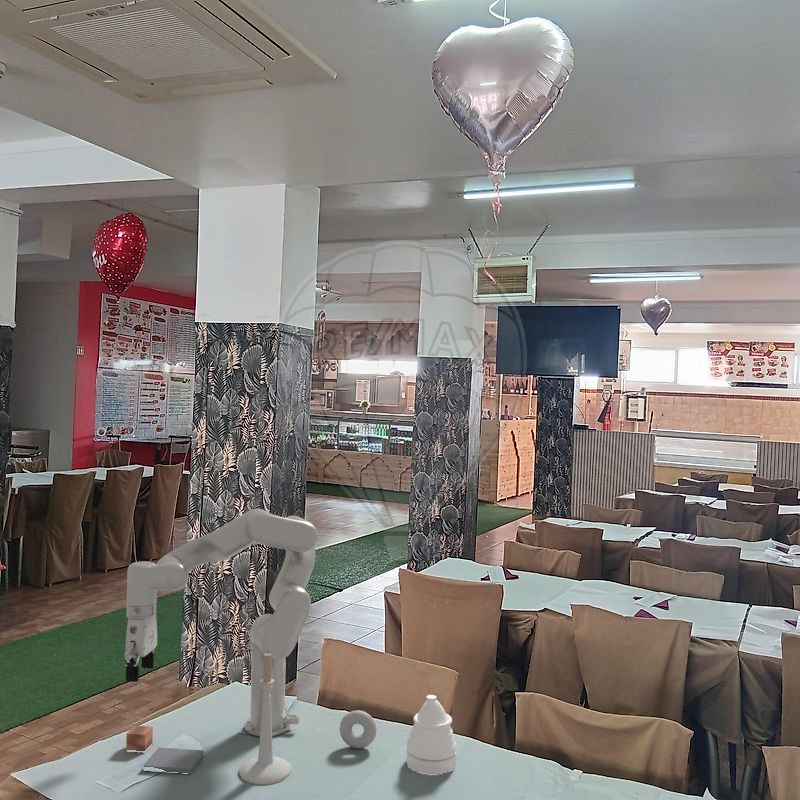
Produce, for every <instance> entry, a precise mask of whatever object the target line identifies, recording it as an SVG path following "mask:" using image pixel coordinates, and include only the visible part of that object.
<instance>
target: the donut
mask: <svg viewBox="0 0 800 800" xmlns="http://www.w3.org/2000/svg"><path fill="white" fill-rule="evenodd" d="M357 724H358V725H360V726H362V728H363V733H361V734H357V733H355V732H354V731H353V726H355V725H357ZM339 725H340V726H339V733H340V737H341V739H342V742H344V743H345V744H346V745H347V746H349V747H351V748H353V749H364V748H366V747H369V746H370V745H371V744H372V743H373V742H374V740H375V738H376V735H377V725H376V723H375V720H374V718H373V717H372V716H371V715H370V714H369V713H367V712H366V711H364V710H359V709H357V710H356V709H355V710H352V711H349V712H348V713H346V714H345V715H344V716H343V717H342V719H341V722H340V724H339Z"/></svg>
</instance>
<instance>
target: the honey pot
mask: <svg viewBox="0 0 800 800" xmlns="http://www.w3.org/2000/svg"><path fill="white" fill-rule="evenodd" d="M425 698H426V701H425V702H424V704H423V705H422V706H421V708H420V710H419V711H418V712H417V713H416V714H415V715H414V716H413V722H414V723H413V725H412V727H411V729H410V733H409V737H408V738H407V740H406V758H405V759H406V761H405V762H407V764H406V766H407V765H408V766H409V767H410V768H411V769H413V770H415V771H418V772H422V773H426V774H440V773H445V772H448V771H451V770H452V769H454V768H456V767H457V742H456V740H455V735H454V733H453V732H454V730H453V729H452V726H451V725H452V723H453V717H452V716H451V715H450V714H448V713H446V710H445V709H444V707H443V706H442V704H441V702H440V701H439V700H438V699H437V695H435V694H428V695H426V697H425ZM408 766H407V767H408ZM455 766H456V767H455ZM409 767H408V768H409ZM410 768H409V769H410ZM411 769H410V770H411ZM413 770H412V771H413ZM454 770H455V769H454ZM452 771H453V770H452ZM452 771H451V772H452Z"/></svg>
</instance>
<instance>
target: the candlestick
mask: <svg viewBox="0 0 800 800" xmlns="http://www.w3.org/2000/svg"><path fill="white" fill-rule="evenodd" d="M271 663H272V654H271V653H265V654H264V663H263V679H262V680H260V682H261V683H262V689H263V691H264V694H263V702H262V716H261V731H260V736H259V746H258V747H259V748H258V756H257V757H254V758H251V759H249V760H247V761H246V762H244V763H243V764H242V765H241V766H240V768H239V774H240V775H239V774H238V775H239V777H240V776H241V777H240V779H242V780H243V779H244V780H245V781H244V780H243V781H244V782H246V781H248V782H247V783H249V782H250V783H249V784H252V783H254V784H253V785H262V784H263V785H273V784H276V783H279V782H281V781H284V780H286V779H287V778H288V777H289V776H290V775H291V773H292V765H291V764H290V762H289V761H287V760H285V759H284V758H281V757H279V756H275V755H274V751H273V750H274V747H273V736H272V716H271V694H270V691H271V688H272V683H273V682H274V679H271ZM263 785H262V786H263Z"/></svg>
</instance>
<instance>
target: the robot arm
mask: <svg viewBox="0 0 800 800" xmlns="http://www.w3.org/2000/svg"><path fill="white" fill-rule="evenodd" d="M318 540H319V533H318V530H317V528H316V527H315V525H314V524H312V523H311V522H310V521H307V520H306V519H304V518H302V517H300V516H297V515H288V516H286V517H282V516H279V515H276V514H272V513H270V512H268V511H266V510H265V509H261V508H254V509H250V510H248V511H246V512H244V513H243V514H241V515H239V516H238V517H236V518H235V519H233V520H231V521H230V522H228V523H226V524H224V525H222V526H220V527H219V528H218V529H215V530H214V531H212V532H210V533H207V534H205V535H202V536H200V537H197V538H195V539H193V540H191V541H188V542H186V543H184V544H182V545H180V546H178V547H177V548H175V549H173V550H172V551H169V552H168V553H166V554H165V555H163V556H162V557H161V558H160V559H159V560H158V561H157V562H156V563H155V562H152V561H136V562H133V563H131V564H129V566H128V567H127V575H126V576H127V579H126V611H125V612H126V615H125V617H126V618H127V624H126V633H125V651H124V662H125V681H126V682H133V683H135V682H136V683H138V682H139V679H140V678H139V677H140V666H139V665H138V664H139V660H140V657H141V668H142V669H153V668H154V666H155V649H156V648H157V646H158V623H157V620H158V619H157V597H158V591H163V592H165V591H166V592H176V591H179V590H182V589H183V588H184V587H185V586H186V585H187V584H188V582H189V579H190V578H189V577H190V575H189V572H190V571H192V570H193V569H196V568H198V567H199V566H202V565H203V564H208V563H212V562H222V561H227V560H229V559H230V558H232V557H233V556H236V555H238V554H239V553H240V552H242V551H243V550H245V549H247V548H248V547H250V546H252V545H253V544H255V543H257V544H259V545H263V546H266V547H271V548H275V549H281V550H285V556H284V557H285V558H284V560H283V563H282V567H281V569H280V571H279V573H278V574H277V577H276V580H275V581H274V584H273V586H272V588H271V590H270V592H269V596H268V600H269V604H270V606H271V607H272V609H273V610H274V612H273V614H272V613H265V614H262V615H260V616H258V617H257V618H256V619H255V620H254V621H253V623H252V624H251V627H250V631H249V643H250V645H249V646H250V654H251V655H250V657H251V658H250V659H251V662H250V663H251V664H250V665H251V669H250V670H251V673H250V712H249V713H250V714H249V715H250V717H249V718H248V719H247V720H246V721H245V722H244V731H245V732H246V731H247V732H246V733H247V734H249V735H252V736H256V737H260V731H261V716H262V702H263V694H264V691H263V689H262V683H261V682H260V680H262V679H263V663H264V654H265V653H271V654H272V663H271V679H274V682H273V683H272V688H271V691H270V694H271V716H272V737H275V736H278V735H281V734H284V733H286V732H287V731H288V730H289V729H290V727H291V725H295V726H296V725H297V726H298V725H299V724H300V717H299V716H298V714H290V713H288V708H287V707H286V702H285V701H286V668H287V667H286V665H287V664H286V658H287V657H289V656H290V654H292V652H293V650H294V649H295V647H296V645H297V643H298V640H299V638H300V637H301V634H302V632H303V629H304V627H305V625H306V623H307V620H308V618H309V615H310V614H311V613H310V612H311V608H312V601H311V596H310V595H309V593H308V591H307V590H306V587H307V585H308V583H309V581H310V578H311V574H312V572H313V570H314V567H315V563H316V545H317V543H318ZM134 658H135V659H134ZM285 707H286V708H285Z"/></svg>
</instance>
